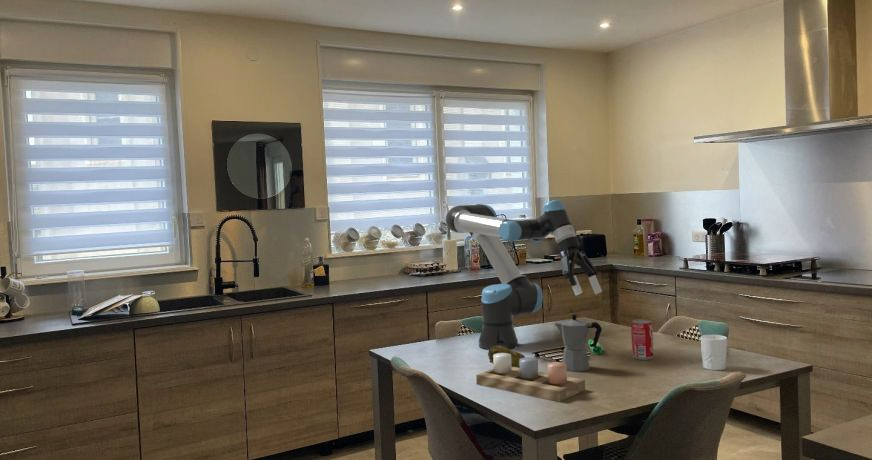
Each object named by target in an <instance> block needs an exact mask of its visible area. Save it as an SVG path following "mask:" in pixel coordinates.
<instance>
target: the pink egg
mask: <svg viewBox="0 0 872 460" xmlns="http://www.w3.org/2000/svg"><path fill="white" fill-rule="evenodd" d="M546 365H547V366H546V369H547V371H546V373H547V374H548V382H549V383H552V384H563V383H566V382H567V377H568V371H567V364H566V363H563V362H561V361H550V362H548V363H547V364H546Z"/></svg>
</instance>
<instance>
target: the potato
mask: <svg viewBox="0 0 872 460" xmlns="http://www.w3.org/2000/svg"><path fill="white" fill-rule="evenodd" d="M497 353H508V354H511V364H512V367H517V368H520V365H519V359H521V358H525V357H526V356H525V355H524V354H522V353H521V352H518V351H515V350H512V349H508V348H506V347H504V346H494V347H492V348H490V350H488V352H487V356H488V359H489V363H490V364H493V365H494V363H493V355H494V354H497Z"/></svg>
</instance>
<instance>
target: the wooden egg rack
mask: <svg viewBox="0 0 872 460" xmlns="http://www.w3.org/2000/svg"><path fill="white" fill-rule="evenodd" d="M475 379H476V381H475V382H476V385H478V386H483V387H488V388H494V389H498V390H502V391H507V392H512V393H516V394H521V395H525V396H526V395H527V396H530V397H535V398H540V399H544V400H550V401H554V402H559V403H560V402H562V401H564V400H566V399H569V398H570V397H572V396H575V395H577V394H579V393H582V392H584V391H586V379H583V378H578V377H577V378H576V377H571V376H567V382H566V383H563V384H552V383H549V382H548V374H547V372H545V371H544V372H543V371H540V370H538V377H536V378H522V377H520V368H517V367H512V371H511V372H509V373H496V372H494V368H491V369H488V370H485V371H483V372H479V373H477V374H476V375H475Z"/></svg>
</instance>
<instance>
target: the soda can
mask: <svg viewBox="0 0 872 460" xmlns="http://www.w3.org/2000/svg"><path fill="white" fill-rule="evenodd" d="M653 327H654V326H653V324H652V320H650V319H645V318H643V319H641V318H640V319H634V320H632V323H631V327H630V330H631V355H632V357H633V358H634V359H635V360H639V361H650V360H652V359H653V357H654V356H655V353H654V331H653V330H654V329H653Z"/></svg>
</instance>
